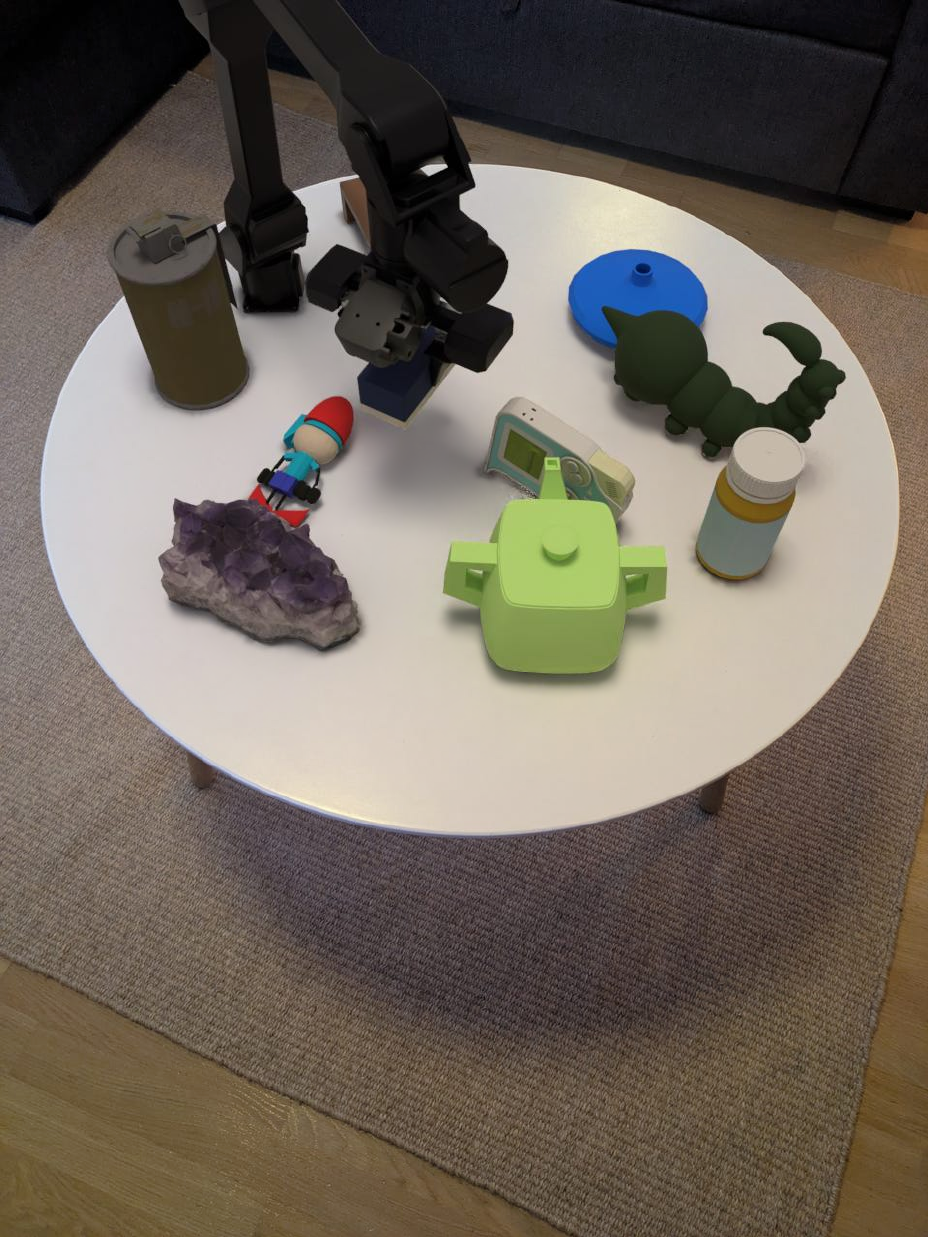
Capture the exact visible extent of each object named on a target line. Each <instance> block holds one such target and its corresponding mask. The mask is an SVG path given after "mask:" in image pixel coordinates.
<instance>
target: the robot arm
mask: <svg viewBox="0 0 928 1237" xmlns="http://www.w3.org/2000/svg"><path fill="white" fill-rule="evenodd" d="M177 1H178V3H179V5H180V6H181V8H182V9H183V13H184V17H185V18H186V19H187V20H188V21H189V23H190V24H191V25H193V27H194V28H195V29H196V30H197V31H198V33H200V34H201V35H202V37H203V38H204V39H205V40H206V41H207V42H208V45H209V49H210V55H211V61H212V66H213V71H214V77H215V82H216V87H217V88H216V89H217V91H218V93H217V94H218V99H219V103H220V104H219V105H220V109H221V113H222V114H221V115H222V119H223V125H224V130H225V135H226V140H227V146H228V152H229V157H230V163H231V167H232V172H233V180H232V183H231V185H230V187H229V190H228V191H227V194H226V196H225V198H224V200H223V213H224V220H225V226H224V227H222V229H221V230H220V231H218V232H219V236H220V240H221V244H222V248H223V252H224V256H225V260H226V262H228V264H230V266H232V268H233V269H235V271H236V272H237V274H238V278H239V282H240V286H241V290H242V294H243V298H242V307H241V308H242V312H244V313H246V314H249V313H250V314H251V313H253V314H254V313H255V314H256V313H257V314H259V313H260V314H261V313H296V312H298V311H300V303H301V298H302V297H303V296H304V292H305V293H306V299H307V301H308V303H309V304H311V305H314V306H316V307H319V308H321V309H323V310H325V311H327V312H330V313H335V311H337V310H338V311H337V317H338V319H337V321H336V323H335V325H334V335H335V336H336V338H337V339H338V341H339V342H340V344H341V346H342V348H343V349H344V351H345V352H346V354H348V355H349V356H352V357H356V358H357V359H360V360H363V361H364V362H367V363H371V364H373V365H374V366H377V367H380V368H384V367H387V366H389V365H390V364H393V365H394V364H395V363H396V362H397V361H398V360H404V361H406V362H408V361H410V360H411V359H412V358H413V356H414V354H415V352H416V350H417V348H418V347H419V345H420V343H421V341H422V338H423V332H422V330H421V328H424V329H428V328H429V327H430V326H431V325H432V326H434V327H435V334H437V335H436V337H435V338H434V339H433V341H432V342H431V343H430V344H429V346H428V347H427V348H426V349H425V351H424V352H423V354H425V355H427V356H429V357H430V380H431V385H432V386H434V387H436V385H437V384H438V383H439V382H440V380H441V378H442V376H443V374H444V372H445V370H446V368H447V366H448V364H453V363H454V364H455V365H457V366H459V367H462V368H464V369H467V370H469V371H471V372H473V373H476V374H480V373H485V372H487V370H488V369H489V368H490V367H491V365H492V364H493V363H494V361H495V360H496V358H498V356H499V355H500V353H501V352H502V350H503V349H504V348H505V347H506V345H507V344H508V343H509V341H510V340H511V338H512V337H513V336H514V327H515V326H514V325H515V320H514V318H513V314H512V312H510V311H507V310H505V309H502V308H500V307H497V306H495V305H492V304H490V303H489V302H490V301H491V300H492V299H494V298H495V296H496V295H497V293H498V292H499V291H500V290H501V288H502V286H503V285H504V282H505V280H506V278H507V275H508V271H509V259H508V258H507V256H506V252H505V251H504V249H503V248H501V246H499V244H497V243H496V242H495V241H494V240H493V239H491V237H489V232H488V230H487V229H486V228H485V227H484V226H482V225H481V224H480V223H479V222H478V221H476V220H473V219H472V218H471V217H469V216H468V215H467V214H466V212H464V211H463V210H461V195H463V194H466V193H467V192H469V191H471V190H474V189H475V188H476V180H475V179H474V175H473V173H472V170H471V167H470V163H471V162H472V158H471V155H470V153H469V150H468V149H467V147H466V145H465V142H464V140H463V138H462V136H461V133H460V130H459V129H458V127H457V125H456V122H455V120H454V118H453V115H452V112H451V109H450V107H449V104H448V103H447V100H445V98H444V97H443V95H441V93H440V92H439V91H438V90H437V89H436V88H435V86H433V84H431V83H430V82H429V81H428V80H427V79H426V78H425V77H424V76H423V75H422V74H421V73H420V72H419V71H418V70H417V69H415V68H414V67H413V65H411V63H409V62H407V61H403V60H401V59H398V58H395V57H391V56H389V55H386V54H384V53H381V52H380V51H379V50H378V49H377V48H376V47H375V46H374V45H373V44H372V43H371V42H370V40H369V39H368V38H367V36H366V35H365V34H364V33H363V31H362V30H361V29H360V28H359V27H358V25H357V24H356V22H354V20H353V19H352V18H351V17H350V15H349V14H348V13H347V11H346V10H345V9H344V8H343V6H342V5H341V4H340V2H339V1H338V0H177ZM273 30H275V31H276V32H277V33H278V35H279V36H280V37H281V38H282V40H283V41H284V43H285V44H286V45H287V46H288V47H289V49H290V51H292V53H293V54H294V55H295V57H296V58H297V59H298V61H299V62H300V63H301V64H302V66H303V68H305V70H306V71H307V72H308V73H309V75H310V76H311V77H312V79H314V81H315V82H316V84H317V85H318V86H319V88H320V89H321V90H322V91H323V93H324V94H325V95H326V97H327V98H328V99H329V101H330V103H331V104H332V106H333V107H334V109H335V112H336V124H337V126H336V127H337V136H338V137H337V138H338V139H339V141H340V143H341V144H342V146H343V148H344V150H345V152H346V155H347V157H348V160H349V161H350V162H349V163H350V168H351V170H352V171H353V172H354V173H355V175H357V177H359V178H360V180H361V182H362V183H363V185H364V187H365V189H366V201H367V211H368V222H369V233H370V245H371V250H370V251H369V253H368V254H364V253H362V252H359V251H356V250H355V249H352V248H349V247H347V246H344V245H342V244H338V243H336V244H334V245H333V246H331V248H329V249H328V251H327V252H326V253H324V255H323V256H322V257H321V258H320V259H319V261H318V262H317V263H316V264H315V265H314V266H313V267H312V268H311V269H310V270H309V271H308V273H307V274H306V277H304V271H303V264H302V260H301V254H300V253H299V252H295V251H296V250H298V249H300V248H304V247H306V246H307V238H308V234H309V233H310V229H309V218H308V215H307V208H306V206H305V205H304V204H303V203H302V201H301V199H300V198H299V197H298V196H297V195H296V193H294V192H293V190H291V188H290V187H289V186H288V185H287V184H286V183H285V182H284V177H283V171H282V164H281V156H280V149H279V148H280V147H279V142H278V133H277V128H276V119H275V112H274V105H273V104H274V103H273V97H272V91H271V83H270V76H269V69H268V68H269V67H268V61H267V53H266V47H267V44H268V41H269V39H270V38H271V35H272V32H273ZM441 159H443V161H444V163H445V165H446V166H447V167H445V168H443V169H441V170H439V171H436V172H435V173H433V174H430V175H428V174H427V173H426V172H425V171H423V168H424V167H427V166H429V165H431V164H433V163H435V162H437V161H440V160H441ZM304 290H305V291H304ZM441 298H442V299H443V300H442V299H441Z"/></svg>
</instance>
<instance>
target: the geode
mask: <svg viewBox="0 0 928 1237" xmlns="http://www.w3.org/2000/svg"><path fill="white" fill-rule="evenodd" d="M172 512H173V513H172V514H173V520H174V523H175V524H174V526H173V534H172V539H171V544H172V545H173V546H171V547H170V548H168V549H167V550H165V551H164V552H163V553H161V554H159V555H158V557H157V560H158V563H159V566H160V568H161V570H162V572H163V574H162V577H161V579H160V583H161V586H162V588H163V589H164V591H165V593H166V595H167V597H168V598H167V599H168V600H169V601H171V602H172V603H175V604H177V605H179V606H181V607H185V608H186V607H187V608H193V609H194V608H195V609H198V610H203V611H206V612H211V613H212V614H213V615H214V616H216V617H217V618H218V619H219V620H221V621H222V622H223V623H224V624H231V625H232V626H234V627H235V628H237V629H238V630H241V631H243V632H245V633H247V634H248V635H249V636H250V637H252V638H254V639H256V640H257V641H259V642H263V643H271V642H275V641H277V640H279V639H280V638H282V637H284V638H291V639H296V640H300V641H304V642H306V643H308V644H310V645H312V646H314V647H315V648H317V649H320V650H323V651H327V650H329V649H331V648H333V647H335V646H338V645H341V644H343V643H346V642H348V641H350V640H352V637H353V636H354V635H355V634H356V633H358V632H359V630H360V626H359V621H358V616H357V614H358V612H359V610H358V607H359V603H358V602H357V601H355V599H353V592H352V591H351V590H350V588H349V586H350V585H349V583H348V580H347V577H344V576H345V574H344V573H342V572H341V570H340V569H339V566H338V564H337V562H336V560H335V559H334V558H332V557H330V556H328V555H326V554H325V553H324V552H323V550H322V549H321V547H318V546H317V545H316V544H315V543H314V541H313V540H312V539H311V538H310V537H311V535H310V533H311V528H310V524H308V523H305V524H303V525H301V526H298V527H295V528H294V529H292V526H291V525H290V524H289V522H287V521H286V520H285V519H283V518H282V517H279V516H277V515H276V514H275V513H273V512H271V511H270V510H268V508H267V506H263V505H260V503H259V501H258V500H257V499H248V498H247V500H246V499H236V500H233V501H229V502H227V503H226V502H225V503H224V502H216V501H215V500H211V499H204V500H202V501H201V502H200V503H199V504H198V505H196V504H193V503H189V502H185V501H182V500H180V499H179V498H176V497H174V499H173V505H172Z"/></svg>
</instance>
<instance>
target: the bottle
mask: <svg viewBox="0 0 928 1237" xmlns="http://www.w3.org/2000/svg"><path fill="white" fill-rule="evenodd" d="M805 465H806V454H805V450H804V448H803V446H802V445H801V443H799V442H798V441H797V440H796V439H795V438H794V437H792V436H791V435H789V434H788V433H786V432H784V431H781V430H778V429H775V428H768V427H760V428H754V429H751V430H748V431H746V432H745V433H743V434H742V435H741V436H740V437H739V438H738V439H737V440H736V442H735V444H734V446H733V447H732V448H731V451H730V454H729V457H728V461H727V464H725V466H724V467H723V468H722V469H721V470H720V472H719V474H718V475H717V478H716V481H715V484H714V487H713V490H712V493H711V497H710V499H709V502H708V505H707V508H706V511H705V514H704V517H703V520H702V523H701V526H700V529H699V531H698V535H697V539H696V543H695V548H696V554H697V556H698V559H699V560H700V562H701V564H702V565H703V566H704V567H705V568H706V569H707V570H708V571H710V572H711V573H712V574H714V575H717V576H719V577H721V578H725V579H728V580H744V579H745V580H746V579H749V578H752V577H754V576H756V575H757V574H758V573H760V572H762V570H763V569H764V567H765V566H766V564H767V562H768V561H769V558H770V556H771V553H772V551H773V550H774V547H775V545H776V543H777V540H778V538H779V536H780V534H781V532H782V530H783V527H784V525H785V523H786V520H787V518H788V516H789V514H790V512H791V510H792V507H793V505H794V503H795V499H796V495H797V494H796V493H797V491H796V486H797V484H798V482H799V481H800V477H801V475H802V474H803V471H804V469H805Z"/></svg>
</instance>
